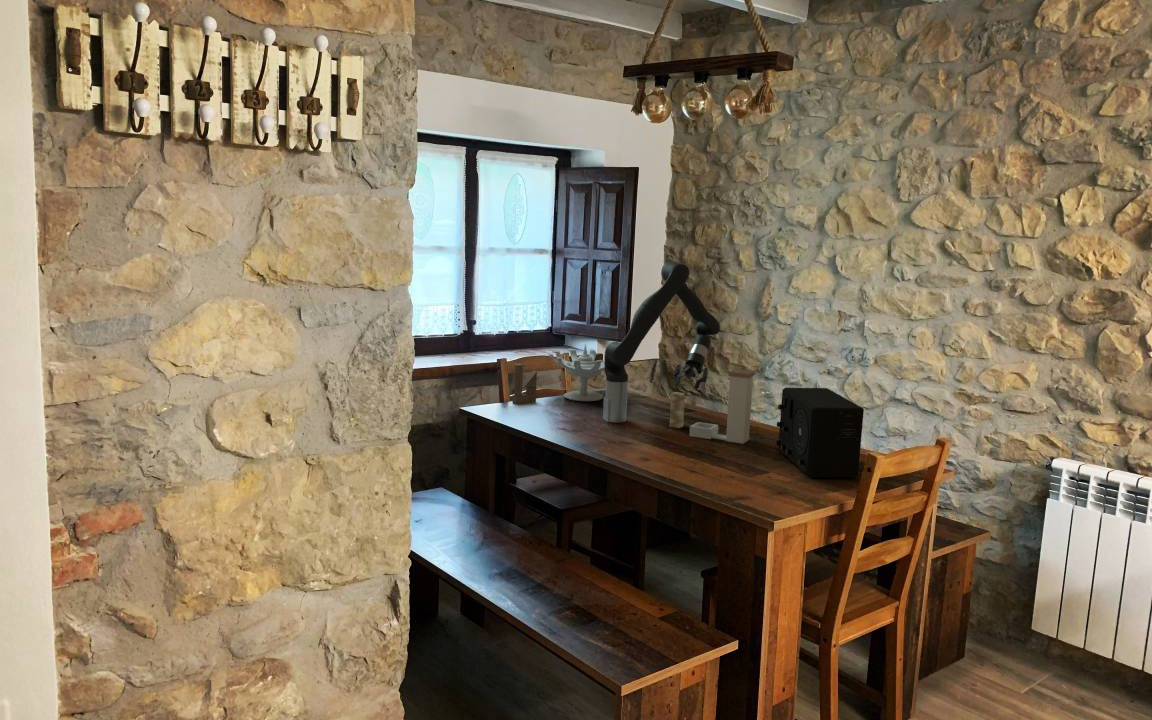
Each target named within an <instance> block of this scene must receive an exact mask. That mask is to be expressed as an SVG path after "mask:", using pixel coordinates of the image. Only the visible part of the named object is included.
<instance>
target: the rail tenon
mask: <svg viewBox="0 0 1152 720" xmlns="http://www.w3.org/2000/svg"><path fill="white" fill-rule="evenodd" d="M685 399H686V392H677V391H674V392H672V393H671V394H670V410H669V427H670V428H676V429H681V428H683V427H684V420H685V419H684V417H685V402H686V401H685Z"/></svg>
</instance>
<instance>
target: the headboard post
mask: <svg viewBox="0 0 1152 720" xmlns="http://www.w3.org/2000/svg"><path fill="white" fill-rule="evenodd" d="M727 375H728V377H729V389H728V400H727V401H728V403H727V418H726V434H722V433H721V434H719V424H715V423H714V424H713V423H707V422H701V421H698V422H695V423H693V424H692V425H690V426H689V437H694V438H700V439H707V440H711V439H715V440H722V441H725V442H730V443H736V444H742V445H743V444H745V443H746V442H748V441H749V440H750V427H751V411H752V398H753V397H752V395H753V394H752V393H753V381H754V379H753V378H754V376H755V375H756V372H755V370H746V369H739V368H734V369H732V370H730V371H728V374H727Z"/></svg>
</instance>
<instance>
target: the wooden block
mask: <svg viewBox="0 0 1152 720" xmlns="http://www.w3.org/2000/svg"><path fill="white" fill-rule="evenodd" d="M523 366H524V365H523V364H522V363H515V364H514V375H513V377H514V379H513V380H514V381H513V389H514V390H513V395H512V404H514V405H520V404H533V403H536V402H537V387H538V385H537V377H538V371H535V370H532V371H531V372H530V374H529V375H528V376H526V378H525V379H524V381H523V370H524V369H523ZM523 389H525V394H523Z"/></svg>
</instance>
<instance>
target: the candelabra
mask: <svg viewBox="0 0 1152 720" xmlns="http://www.w3.org/2000/svg"><path fill="white" fill-rule="evenodd" d="M586 342H587V341H585V343H584V349H583V351H582V352H583V353H582V354H580V355H579V356H578V354H577V350H576V349H574V348H567V350H568V352H570V353H569V354H570V358H571V360H572V361H567V360H566V359H564V357H562V356H561V353H560V351H559V350H552V353H548V354H547V356H549V357H551V360H552V361H553V362H554V363H555V364H556V365H558V366H560V367H562V368H563V369H565V370H566V371H567V373H568V374H569V375H571V376H575V377H579V379H580V389H579V390H574V391H568V392H566V393H563V397H564V398H565V399H567V400H570V401H575V402H596V401H600V400H602V399H604V395H603V394H602V393H599V392H595V391H589V390H588V382H589V378H590V377H598V376H600V375H601V374H602V372H603V371H605V358H603V359H599V360H595V359H596V357H597V352H596V350H595V349H594V348H589V349H588V351H589V354H588V351H587V343H586ZM554 354H555V356H556V358H555V357H554Z"/></svg>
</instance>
